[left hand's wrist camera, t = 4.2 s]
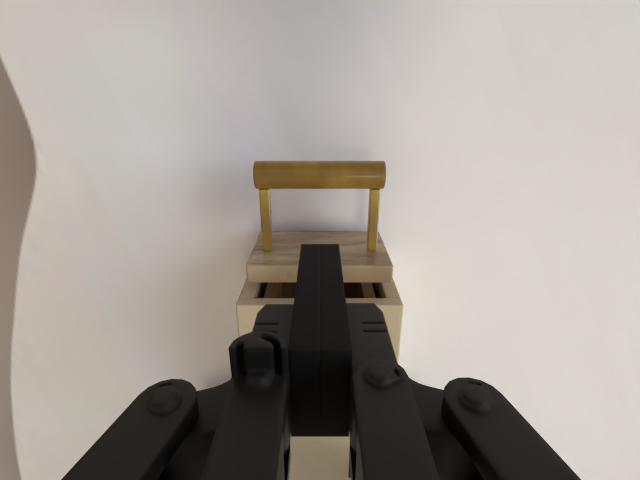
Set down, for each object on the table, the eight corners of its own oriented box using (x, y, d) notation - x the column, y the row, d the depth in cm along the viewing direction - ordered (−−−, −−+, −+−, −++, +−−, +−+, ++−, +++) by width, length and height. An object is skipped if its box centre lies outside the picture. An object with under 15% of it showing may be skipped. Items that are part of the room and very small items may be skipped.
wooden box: (256, 252, 30) (235, 305, 22) (383, 252, 30) (403, 305, 22) (268, 423, 37) (254, 507, 29) (371, 423, 37) (384, 507, 29)
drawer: (255, 152, 26) (237, 168, 20) (383, 152, 26) (401, 168, 20) (271, 404, 34) (261, 465, 29) (368, 404, 34) (377, 465, 29)
